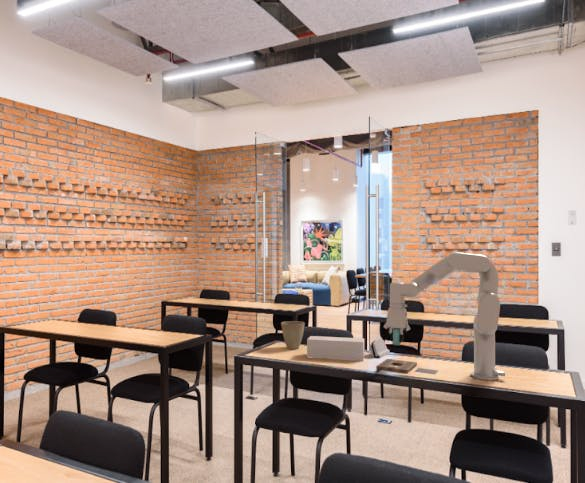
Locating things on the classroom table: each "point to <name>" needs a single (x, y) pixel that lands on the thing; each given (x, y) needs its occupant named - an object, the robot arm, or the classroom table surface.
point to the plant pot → (292, 333)
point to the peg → (396, 336)
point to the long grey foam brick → (335, 348)
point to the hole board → (396, 366)
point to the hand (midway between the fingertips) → (396, 341)
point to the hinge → (378, 348)
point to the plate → (426, 371)
